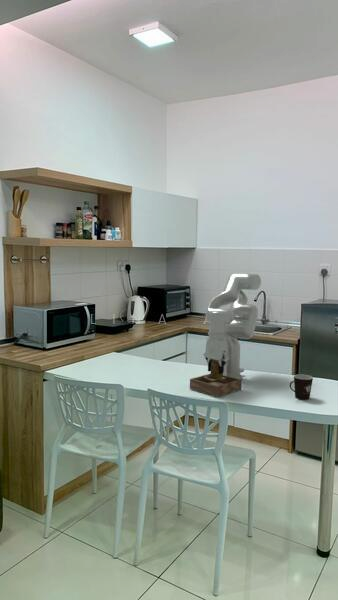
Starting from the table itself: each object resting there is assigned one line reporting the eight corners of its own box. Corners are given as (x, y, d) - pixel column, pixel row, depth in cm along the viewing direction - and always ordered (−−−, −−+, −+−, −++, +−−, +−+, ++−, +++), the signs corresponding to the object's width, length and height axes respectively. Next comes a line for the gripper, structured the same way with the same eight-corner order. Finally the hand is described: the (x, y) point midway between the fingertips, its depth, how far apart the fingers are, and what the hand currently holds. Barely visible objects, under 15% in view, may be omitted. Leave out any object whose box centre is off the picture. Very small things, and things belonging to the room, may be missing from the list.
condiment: (226, 378, 224) (227, 354, 223) (212, 380, 219) (213, 356, 218) (216, 375, 230) (217, 351, 229) (203, 377, 225) (204, 353, 224)
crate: (213, 381, 238) (213, 372, 237) (241, 389, 225) (241, 379, 225) (189, 388, 226) (189, 379, 225) (217, 397, 213) (218, 387, 212)
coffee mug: (308, 394, 218) (309, 374, 217) (314, 400, 209) (315, 379, 208) (284, 394, 218) (285, 374, 217) (289, 400, 209) (290, 379, 208)
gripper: (198, 334, 226) (197, 370, 228) (225, 339, 214) (224, 377, 215) (208, 332, 231) (207, 367, 233) (235, 337, 219) (234, 374, 221)
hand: (215, 371), depth 224 cm, fingers closed on condiment, 6 cm apart
